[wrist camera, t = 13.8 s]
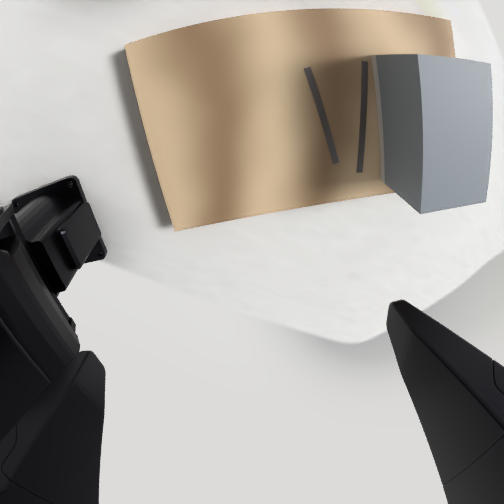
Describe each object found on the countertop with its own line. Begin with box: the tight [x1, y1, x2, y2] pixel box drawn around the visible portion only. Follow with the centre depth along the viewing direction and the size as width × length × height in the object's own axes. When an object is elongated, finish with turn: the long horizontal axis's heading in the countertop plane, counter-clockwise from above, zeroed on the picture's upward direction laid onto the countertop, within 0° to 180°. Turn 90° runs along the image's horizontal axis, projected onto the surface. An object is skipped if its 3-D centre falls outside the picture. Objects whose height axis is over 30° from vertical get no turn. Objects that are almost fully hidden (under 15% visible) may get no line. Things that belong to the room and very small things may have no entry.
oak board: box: [125, 9, 455, 231], centre depth 17 cm, size 20×12×1 cm, turn 100°
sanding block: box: [371, 54, 493, 214], centre depth 14 cm, size 5×8×5 cm, turn 10°
